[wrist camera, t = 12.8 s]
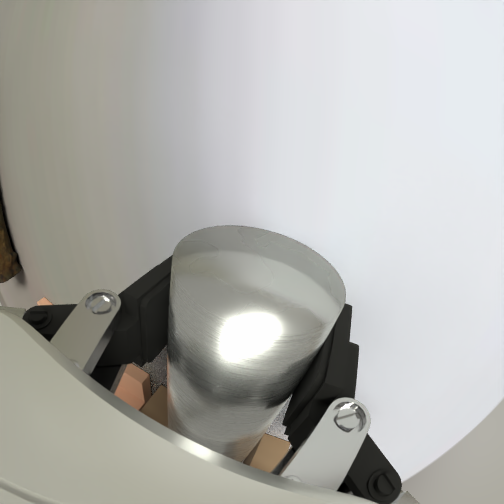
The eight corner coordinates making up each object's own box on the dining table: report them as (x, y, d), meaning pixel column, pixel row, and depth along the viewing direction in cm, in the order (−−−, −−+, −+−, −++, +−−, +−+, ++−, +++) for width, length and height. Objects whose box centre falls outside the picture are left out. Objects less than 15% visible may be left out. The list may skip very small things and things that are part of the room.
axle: (261, 415, 15) (239, 482, 11) (188, 388, 16) (154, 448, 12) (344, 256, 10) (346, 358, 5) (214, 213, 10) (134, 279, 6)
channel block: (267, 464, 19) (247, 510, 14) (163, 417, 21) (134, 457, 16) (290, 442, 16) (268, 502, 11) (161, 384, 18) (122, 433, 13)
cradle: (155, 426, 22) (132, 457, 19) (66, 361, 25) (42, 383, 21) (149, 374, 18) (113, 417, 14) (44, 297, 20) (10, 321, 16)
